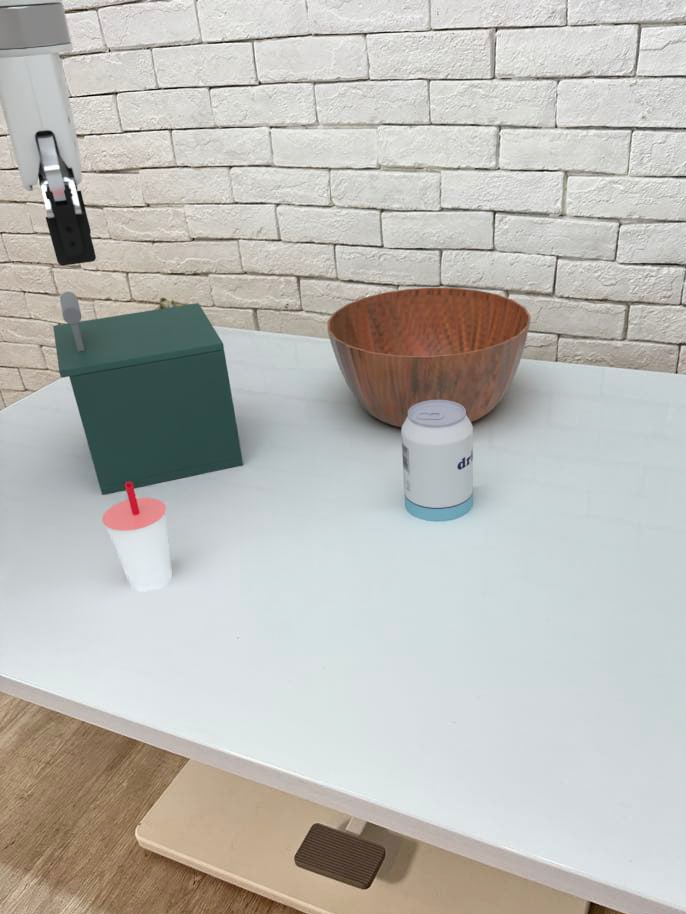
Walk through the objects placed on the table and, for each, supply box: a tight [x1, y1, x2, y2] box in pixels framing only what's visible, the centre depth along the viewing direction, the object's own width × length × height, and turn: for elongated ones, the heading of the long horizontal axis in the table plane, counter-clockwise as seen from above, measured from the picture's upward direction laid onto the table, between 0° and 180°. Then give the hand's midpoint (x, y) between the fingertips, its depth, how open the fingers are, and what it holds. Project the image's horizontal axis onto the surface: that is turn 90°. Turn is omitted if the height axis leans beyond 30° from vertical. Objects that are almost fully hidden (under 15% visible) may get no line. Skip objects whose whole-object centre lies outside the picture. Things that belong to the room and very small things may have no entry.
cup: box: [101, 482, 173, 593], centre depth 76 cm, size 5×5×12 cm
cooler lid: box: [52, 291, 225, 378], centre depth 94 cm, size 17×15×6 cm
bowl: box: [326, 287, 532, 428], centre depth 108 cm, size 25×25×11 cm
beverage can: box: [400, 400, 474, 523], centre depth 84 cm, size 7×7×12 cm
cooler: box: [69, 349, 244, 495], centre depth 99 cm, size 16×15×14 cm
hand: (75, 249), depth 78 cm, fingers open, 9 cm apart
